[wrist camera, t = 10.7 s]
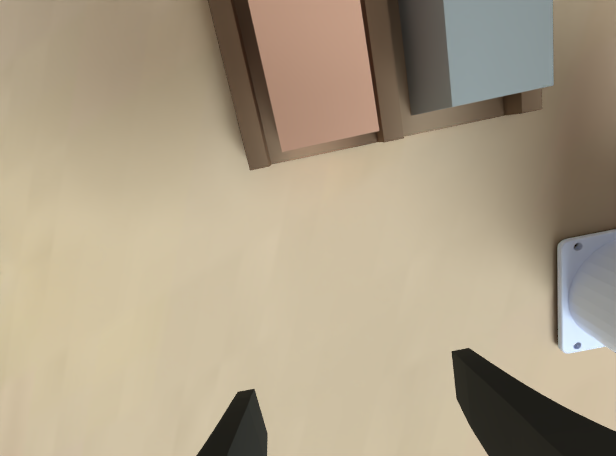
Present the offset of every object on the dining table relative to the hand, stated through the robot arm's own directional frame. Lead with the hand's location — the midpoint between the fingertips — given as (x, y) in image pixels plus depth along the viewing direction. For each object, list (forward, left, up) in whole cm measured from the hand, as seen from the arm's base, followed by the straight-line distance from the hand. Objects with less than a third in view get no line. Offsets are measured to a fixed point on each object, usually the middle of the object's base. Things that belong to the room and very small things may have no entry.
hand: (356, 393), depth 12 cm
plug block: (-1, -13, -9) cm, 16 cm away
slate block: (-8, -13, -9) cm, 18 cm away
